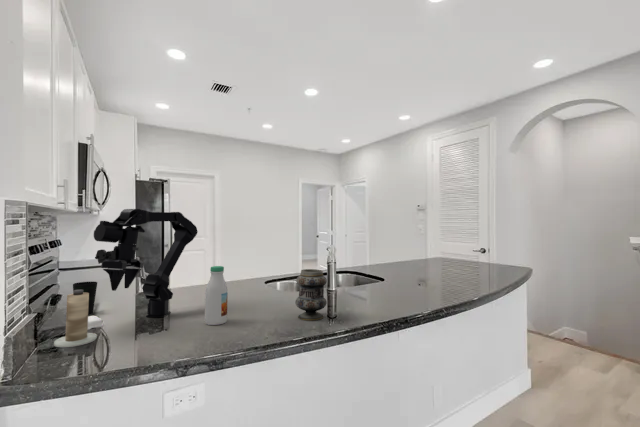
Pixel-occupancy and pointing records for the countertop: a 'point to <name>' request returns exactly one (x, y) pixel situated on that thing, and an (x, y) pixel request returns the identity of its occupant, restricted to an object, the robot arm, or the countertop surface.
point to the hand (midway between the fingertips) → (120, 289)
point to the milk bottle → (216, 297)
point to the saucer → (63, 343)
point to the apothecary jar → (311, 294)
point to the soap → (94, 322)
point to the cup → (87, 288)
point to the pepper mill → (77, 316)
